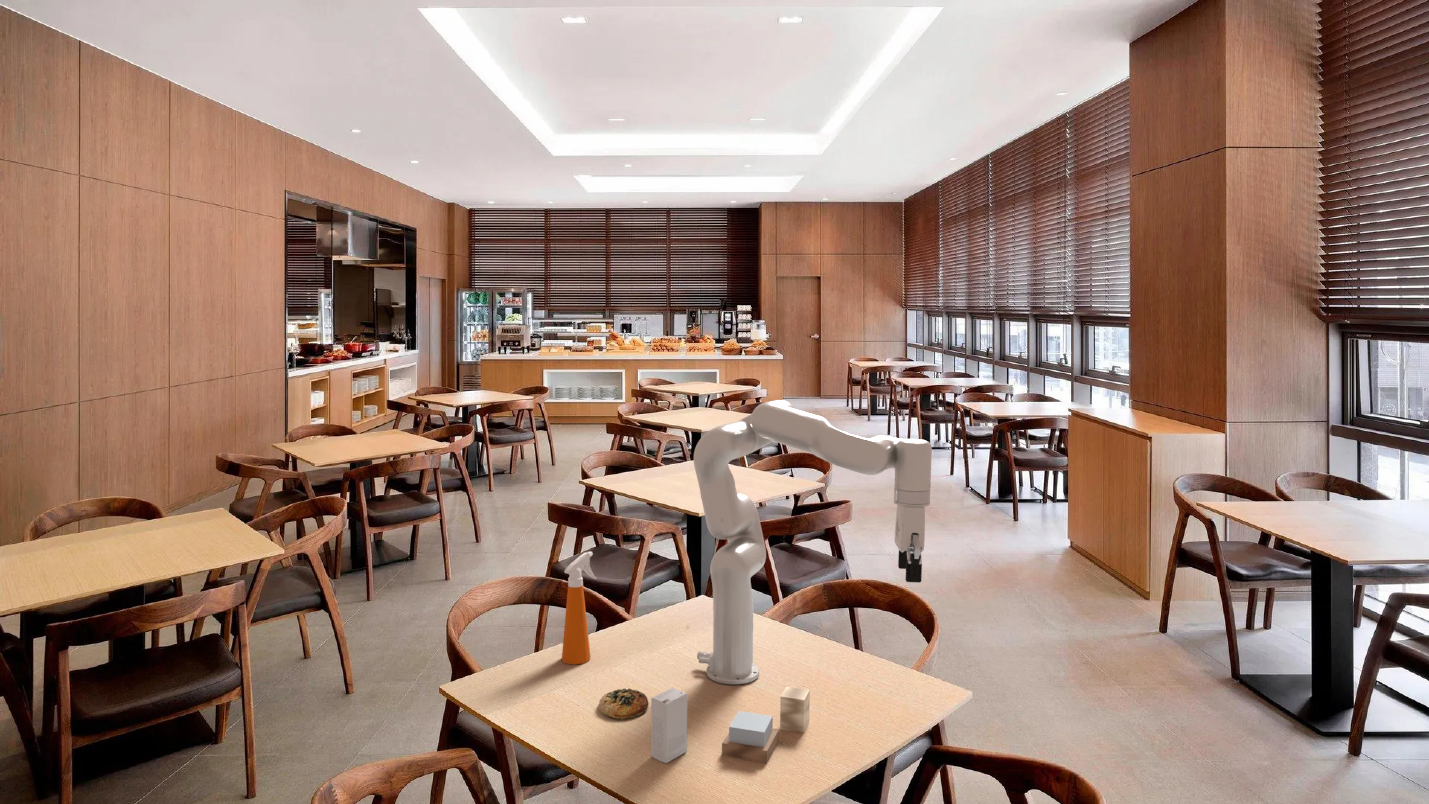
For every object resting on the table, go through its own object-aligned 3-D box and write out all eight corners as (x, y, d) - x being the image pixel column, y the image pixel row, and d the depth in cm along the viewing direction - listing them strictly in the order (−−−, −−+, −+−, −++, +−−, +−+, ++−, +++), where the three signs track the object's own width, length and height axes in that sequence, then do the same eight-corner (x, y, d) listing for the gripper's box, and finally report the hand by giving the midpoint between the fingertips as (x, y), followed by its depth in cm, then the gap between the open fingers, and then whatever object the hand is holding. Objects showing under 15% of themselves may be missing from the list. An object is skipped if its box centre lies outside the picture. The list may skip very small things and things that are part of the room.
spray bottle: (606, 653, 207) (606, 551, 205) (576, 667, 198) (575, 561, 196) (586, 647, 211) (585, 547, 209) (555, 660, 203) (554, 556, 200)
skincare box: (671, 745, 161) (671, 686, 160) (688, 752, 158) (688, 692, 157) (649, 757, 156) (649, 696, 155) (666, 765, 154) (666, 703, 153)
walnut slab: (721, 758, 158) (722, 743, 157) (735, 736, 166) (736, 722, 166) (766, 766, 155) (767, 751, 154) (778, 743, 163) (779, 729, 163)
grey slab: (729, 741, 158) (729, 726, 158) (738, 725, 164) (738, 710, 164) (764, 747, 156) (764, 732, 155) (772, 730, 162) (772, 716, 162)
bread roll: (657, 701, 180) (655, 680, 179) (636, 730, 170) (634, 708, 169) (612, 695, 184) (609, 675, 183) (589, 723, 174) (586, 702, 173)
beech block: (780, 729, 168) (780, 696, 167) (786, 718, 173) (786, 686, 172) (803, 733, 166) (804, 700, 166) (809, 722, 171) (809, 690, 171)
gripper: (888, 488, 183) (886, 563, 185) (900, 504, 166) (898, 586, 168) (922, 489, 183) (919, 564, 184) (938, 505, 166) (935, 588, 167)
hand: (909, 575), depth 176 cm, fingers open, 9 cm apart
